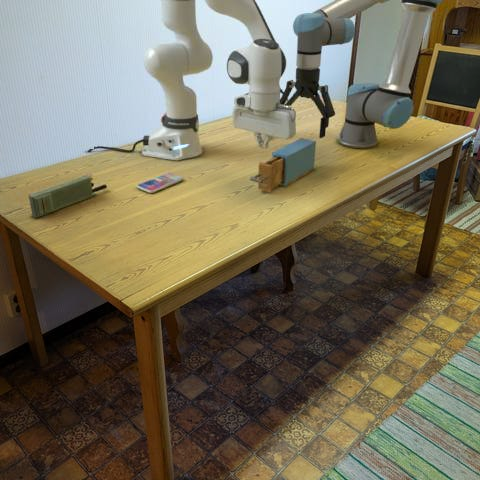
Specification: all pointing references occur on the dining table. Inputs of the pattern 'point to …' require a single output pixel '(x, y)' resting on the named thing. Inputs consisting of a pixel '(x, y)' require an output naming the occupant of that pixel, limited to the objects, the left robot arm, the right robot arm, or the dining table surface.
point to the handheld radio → (62, 195)
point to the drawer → (270, 173)
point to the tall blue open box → (297, 159)
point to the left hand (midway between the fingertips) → (262, 147)
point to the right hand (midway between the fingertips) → (304, 133)
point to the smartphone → (159, 182)
